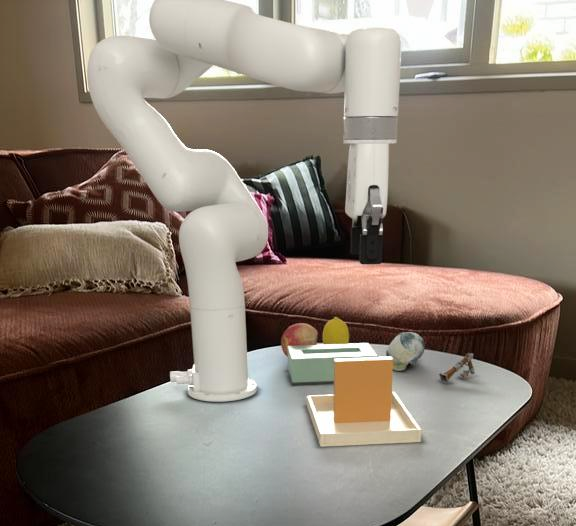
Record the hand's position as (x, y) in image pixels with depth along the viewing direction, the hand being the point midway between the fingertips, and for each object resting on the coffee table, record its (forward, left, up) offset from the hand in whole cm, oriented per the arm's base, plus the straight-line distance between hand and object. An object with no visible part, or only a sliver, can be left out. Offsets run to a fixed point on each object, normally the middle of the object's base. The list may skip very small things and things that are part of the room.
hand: (365, 259), depth 115 cm
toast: (-1, -4, -24) cm, 25 cm away
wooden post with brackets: (+21, +18, -25) cm, 38 cm away
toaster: (-2, +24, -25) cm, 34 cm away
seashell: (+14, +30, -25) cm, 42 cm away
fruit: (-7, +34, -25) cm, 43 cm away
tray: (-1, -4, -25) cm, 25 cm away
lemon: (+1, +39, -25) cm, 47 cm away
